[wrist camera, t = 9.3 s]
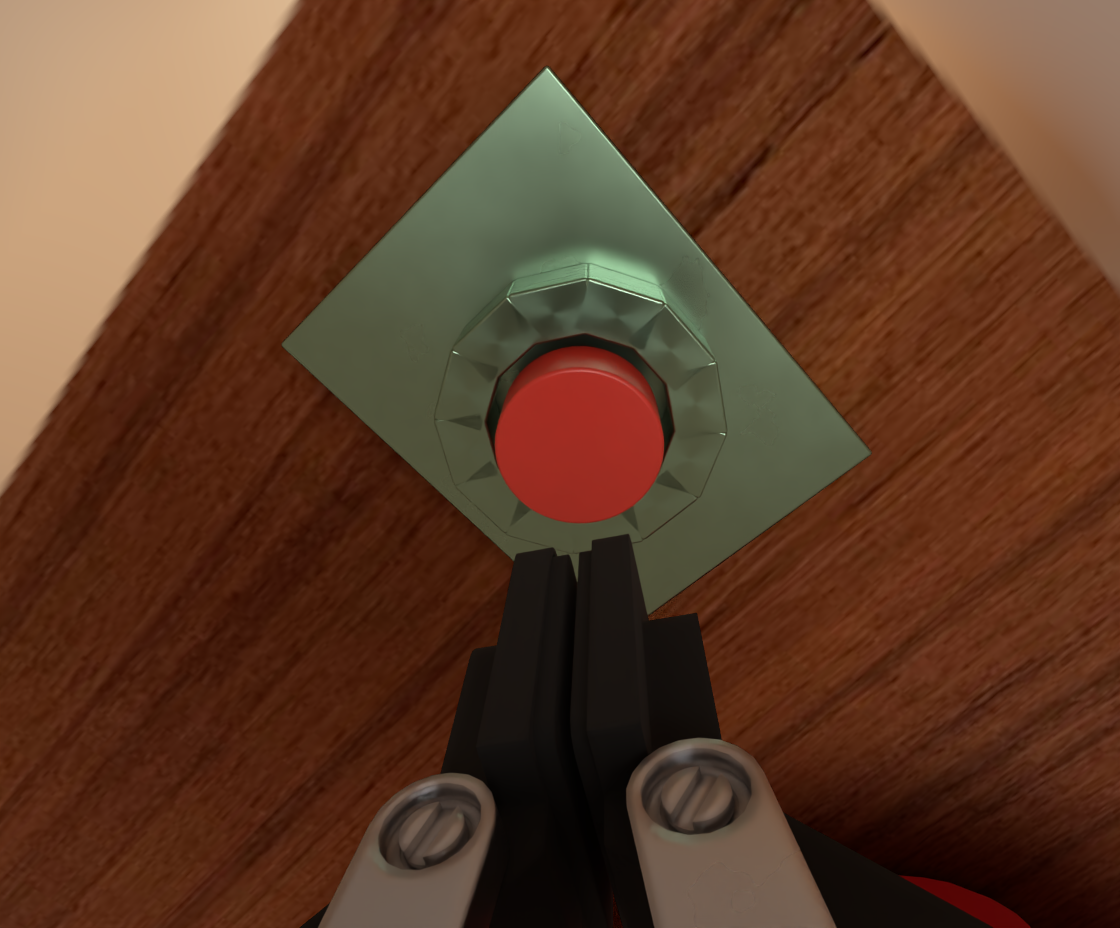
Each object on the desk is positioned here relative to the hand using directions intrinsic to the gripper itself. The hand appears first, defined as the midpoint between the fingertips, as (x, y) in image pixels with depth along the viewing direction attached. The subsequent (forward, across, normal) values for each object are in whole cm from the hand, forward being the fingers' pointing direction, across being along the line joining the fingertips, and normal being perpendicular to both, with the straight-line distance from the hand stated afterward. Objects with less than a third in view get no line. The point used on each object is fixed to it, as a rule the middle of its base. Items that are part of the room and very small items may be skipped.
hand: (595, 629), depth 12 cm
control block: (+11, 0, -1) cm, 11 cm away
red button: (+7, 0, -1) cm, 8 cm away
